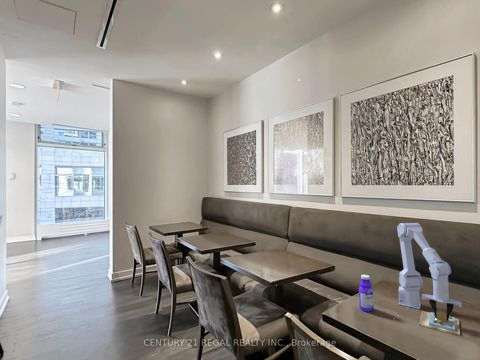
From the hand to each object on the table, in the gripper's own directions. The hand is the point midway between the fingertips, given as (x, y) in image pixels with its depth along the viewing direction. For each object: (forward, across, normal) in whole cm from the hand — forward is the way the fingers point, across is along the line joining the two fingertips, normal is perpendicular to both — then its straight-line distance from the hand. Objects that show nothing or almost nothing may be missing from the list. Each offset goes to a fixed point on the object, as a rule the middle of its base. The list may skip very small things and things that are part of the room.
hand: (441, 318), depth 123 cm
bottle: (+3, -31, -5) cm, 32 cm away
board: (+2, -1, 0) cm, 3 cm away
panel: (+2, 0, 0) cm, 2 cm away
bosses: (+2, -1, 0) cm, 2 cm away
